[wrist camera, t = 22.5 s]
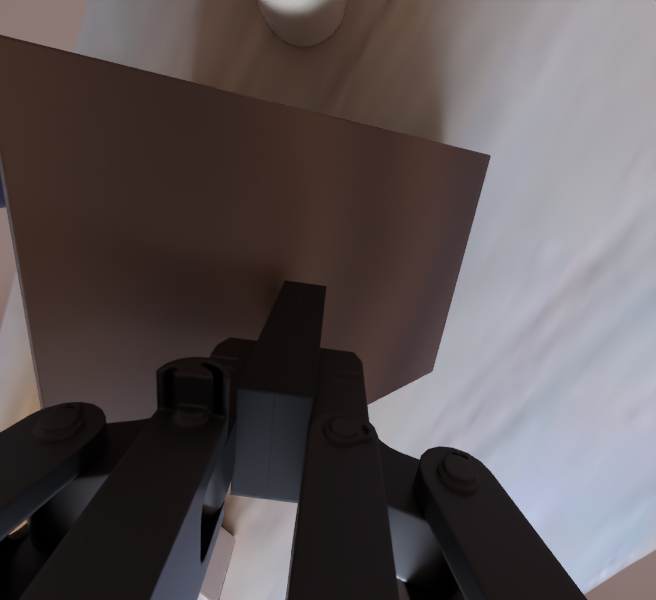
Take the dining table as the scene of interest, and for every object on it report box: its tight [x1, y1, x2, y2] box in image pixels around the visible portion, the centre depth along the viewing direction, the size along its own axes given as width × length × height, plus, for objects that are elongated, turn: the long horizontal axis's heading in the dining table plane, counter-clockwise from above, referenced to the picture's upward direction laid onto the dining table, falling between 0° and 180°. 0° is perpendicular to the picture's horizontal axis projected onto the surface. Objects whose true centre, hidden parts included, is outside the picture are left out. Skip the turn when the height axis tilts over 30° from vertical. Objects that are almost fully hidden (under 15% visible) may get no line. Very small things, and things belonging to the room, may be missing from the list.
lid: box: [0, 35, 490, 423], centre depth 16 cm, size 20×14×1 cm
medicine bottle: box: [197, 526, 235, 600], centre depth 38 cm, size 7×7×12 cm
